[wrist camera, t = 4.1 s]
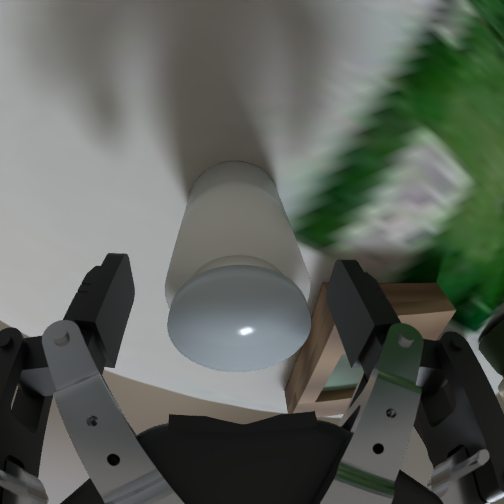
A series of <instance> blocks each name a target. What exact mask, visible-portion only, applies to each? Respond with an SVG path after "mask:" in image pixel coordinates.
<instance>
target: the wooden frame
mask: <svg viewBox="0 0 504 504" xmlns="http://www.w3.org/2000/svg"><path fill="white" fill-rule="evenodd" d="M378 284H379V286H380V287H381V289H382V291H383V292H384V294H385V295H386V298H387V299H388V300H389V302H390V304H391V306H392V307H393V309H394V311H395V312H396V314H397V316H398V318H399V319H400V321H401V323H405V324H408V325H411V326H413V327H414V328H415V329H417V330H418V331H419V332H420V334H421V336H422V338H423V339H429V340H435V341H436V340H437V339H438V337H439V336H440V334H441V333H442V331H443V330H444V328H445V327H446V326H447V324H448V322H449V321H450V319H451V318H452V316H453V315H454V313H455V312H456V309H455V308H454V306H453V305H452V303H451V302H450V301H449V299H448V298H447V296H446V295H445V294H444V292H443V291H442V290H441V288H440V287H439V285H438V284H437V283H378ZM328 286H329V283H323V285H322V288H321V291H320V295H319V298H318V301H317V304H316V307H315V310H314V313H313V316H312V319H311V329H310V333H309V335H308V337H307V339H306V341H305V342H304V344H303V345H302V347H301V350H300V353H299V356H298V358H297V361H296V364H295V366H294V369H293V372H292V374H291V377H290V379H289V382H288V384H287V387H286V389H285V398H286V404H287V410H288V414H291V413H302V412H311V411H315V414H316V417H324V416H332V415H339V414H344V413H345V411H346V409H347V407H348V405H349V403H350V401H351V398H352V396H353V394H354V392H355V389H356V387H357V385H358V382H359V380H360V378H361V376H362V374H363V372H364V371H363V368H362V367H359V368H352V369H351V366H350V363H349V361H348V358H347V355H346V352H345V350H344V347H343V344H342V341H341V339H340V336H339V333H338V331H337V328H336V326H335V323H334V320H333V318H332V315H331V313H330V310H329V307H328V305H327V298H326V295H327V289H328Z"/></svg>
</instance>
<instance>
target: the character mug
mask: <svg viewBox="0 0 504 504" xmlns="http://www.w3.org/2000/svg"><path fill="white" fill-rule="evenodd" d="M479 350H480V351H481V353H482V354H483V355H484V357H485V358H486V359H487V361H488V362H489V363H490V364H491V366H492V367H493V368H494V369H495V370H496V372H497V373H498V374H500V375H502V376H503V380H502V381H501V383H500V384H499V386H498V390H499V393H500V395H501V397H502V398H503V400H504V319H503V320H502V321H501V322H500V323H499V324H497V325H496V326H495V327H492V328H491V329H490V332H489V333H488V334H487V335H486V336H485V337H483V339H482V340H481V342H480V344H479Z"/></svg>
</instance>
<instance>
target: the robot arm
mask: <svg viewBox="0 0 504 504" xmlns="http://www.w3.org/2000/svg"><path fill="white" fill-rule="evenodd" d="M134 295H135V288H134V282H133V277H132V272H131V267H130V261H129V257H128V255H127V254H117V253H108V254H107V256H106V258H105V259H104V261H103V263H102V265H101V266H95V267H94V268H93V269H92V270H90V271H89V272H88V273H87V274H86V276H85V278H84V280H83V281H82V285H80V287H79V289H78V293H76V295H75V297H74V298H73V300H72V302H71V304H70V306H69V308H68V310H67V312H66V314H65V317H64V319H63V320H60V321H57V322H55V323H53V324H51V325H50V326H49V327H48V328H47V329H46V330H45V331H44V333H43V336H37V337H30V338H24V337H23V336H22V334H21V332H20V331H19V330H18V329H16V328H12V327H10V328H5V329H3V330H1V331H0V504H47V503H48V496H47V494H46V491H45V488H44V486H43V484H42V482H41V481H40V480H39V479H38V475H39V466H40V459H41V452H42V446H43V440H44V435H45V430H46V425H47V420H48V415H49V411H50V406H51V402H52V398H53V395H54V399H55V402H56V405H57V407H58V409H59V413H60V415H61V418H62V420H63V423H64V425H65V427H66V430H67V432H68V434H69V437H70V439H71V441H72V443H73V445H74V447H75V450H76V451H77V454H78V456H79V458H80V459H81V462H82V463H83V465H84V467H85V469H86V471H87V473H88V475H89V477H90V478H89V479H88V480H87V481H86V482H85V483H84V484H83V485H81V486H80V487H79V488H78V489H77V490H76V491H74V492H73V493H72V494H71V495H70V496H69V497H68V498H66V499H65V500H64V501H63V502H62V503H60V504H490V503H493V502H495V501H497V500H499V499H501V498H504V414H503V411H502V409H501V407H500V404H499V402H498V400H497V398H496V396H495V393H494V391H493V389H492V387H491V385H490V383H489V381H488V379H487V377H486V375H485V373H484V371H483V369H482V367H481V365H480V363H479V362H478V360H477V358H476V356H475V354H474V352H473V351H472V349H471V347H470V345H469V344H468V342H467V341H466V339H465V338H464V337H463V336H461V335H460V334H458V333H456V332H451V331H450V332H446V333H444V334H443V336H442V337H441V339H440V340H439V341H435V340H429V339H423V338H422V336H421V334H420V332H419V331H418V330H417V329H415V328H414V327H413V326H411V325H408V324H405V323H401V321H400V319H399V318H398V316H397V314H396V312H395V311H394V309H393V307H392V306H391V304H390V302H389V300H388V299H387V298H386V295H385V294H384V292H383V291H382V289H381V287H380V286H379V284H378V282H377V281H376V280H375V279H374V278H373V277H372V276H371V275H369V274H368V273H367V272H363V270H362V268H361V267H360V265H359V263H358V262H357V261H356V260H337V261H336V263H335V265H334V269H333V272H332V276H331V279H330V282H329V286H328V289H327V295H326V298H327V305H328V307H329V310H330V313H331V315H332V318H333V320H334V323H335V326H336V328H337V331H338V333H339V336H340V339H341V341H342V344H343V347H344V350H345V352H346V355H347V358H348V361H349V363H350V366H351V369H352V368H359V367H362V368H363V371H364V372H363V374H362V376H361V378H360V380H359V382H358V385H357V387H356V389H355V392H354V394H353V396H352V398H351V401H350V403H349V405H348V407H347V409H346V411H345V413H344V415H343V417H342V418H341V420H340V421H339V423H338V425H335V424H332V423H329V422H325V421H321V420H317V418H316V414H315V411H311V412H302V413H291V414H281V415H277V416H274V417H271V418H267V419H264V420H260V421H257V422H253V423H249V424H237V423H232V422H228V421H223V420H219V419H215V418H211V417H206V416H187V415H186V416H185V415H169V423H167V424H162V425H158V426H154V427H152V428H149V429H147V430H145V431H143V432H141V433H140V434H138V435H137V434H136V433H135V431H134V430H133V428H132V427H131V425H130V423H129V422H128V420H127V419H126V417H125V415H124V414H123V412H122V410H121V409H120V407H119V405H118V404H117V402H116V400H115V398H114V397H113V395H112V393H111V391H110V389H109V387H108V385H107V384H106V382H105V380H104V378H103V376H102V374H103V370H104V367H110V368H115V364H116V360H117V356H118V353H119V349H120V345H121V342H122V338H123V335H124V331H125V328H126V324H127V321H128V318H129V314H130V311H131V308H132V305H133V302H134ZM447 382H448V383H449V385H450V387H451V389H452V392H453V394H454V396H455V399H456V408H455V410H454V411H453V410H452V407H451V405H450V402H449V400H448V397H447V395H446V393H445V390H444V388H443V386H444V385H445V384H446V383H447ZM17 385H18V390H17V394H16V397H15V400H14V403H13V407H12V410H11V403H12V399H13V396H14V393H15V390H16V387H17ZM416 414H417V415H418V418H419V421H420V424H421V427H422V431H423V434H424V437H425V440H426V443H427V447H428V450H429V453H430V457H431V460H432V464H433V468H434V470H433V472H432V476H431V479H430V480H429V481H428V483H427V488H426V487H424V486H423V485H422V484H420V483H419V482H417V481H416V480H414V479H413V478H411V477H410V476H408V475H407V474H405V473H404V472H403V471H401V470H400V466H401V463H402V460H403V458H404V455H405V452H406V449H407V446H408V442H409V439H410V435H411V432H412V429H413V425H414V421H415V418H416Z"/></svg>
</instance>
